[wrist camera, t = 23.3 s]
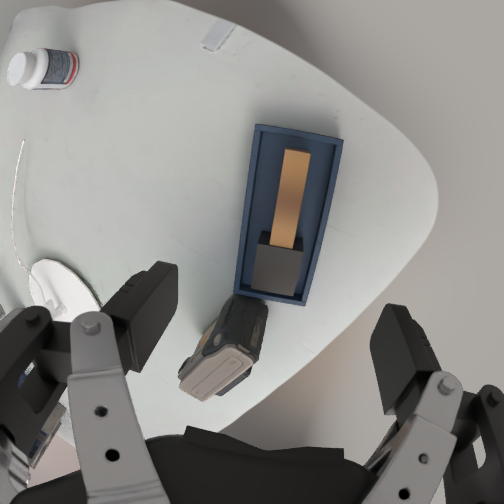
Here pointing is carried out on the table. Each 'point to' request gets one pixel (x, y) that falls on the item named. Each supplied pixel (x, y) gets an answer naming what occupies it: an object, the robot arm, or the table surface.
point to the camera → (226, 349)
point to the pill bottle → (43, 69)
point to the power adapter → (1, 312)
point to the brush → (283, 230)
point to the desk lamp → (57, 285)
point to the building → (44, 432)
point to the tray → (265, 198)
